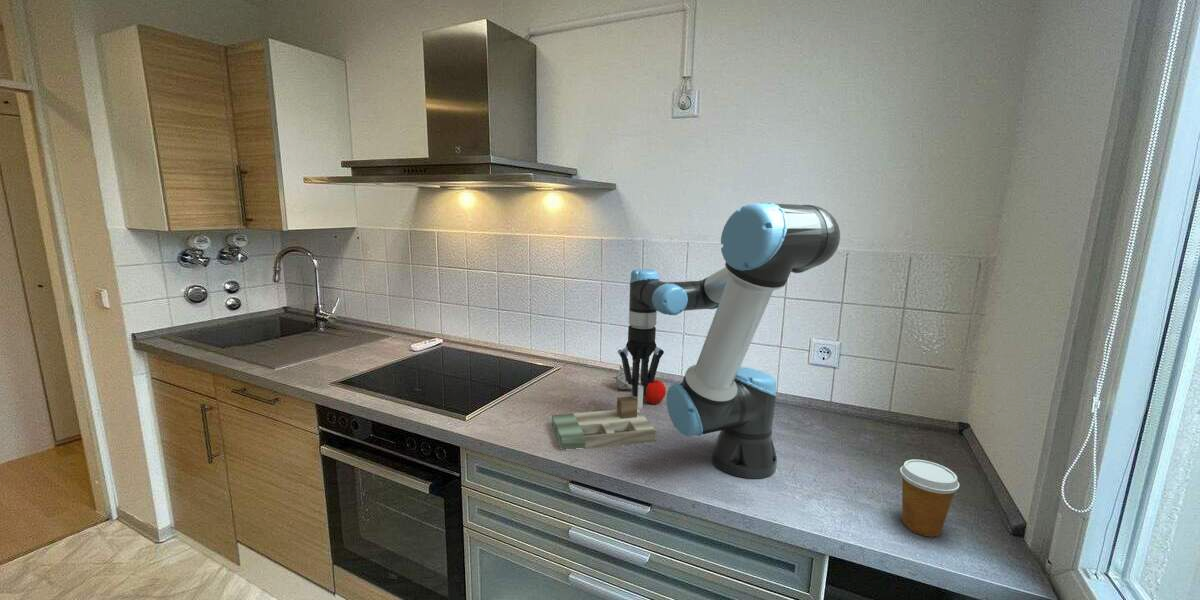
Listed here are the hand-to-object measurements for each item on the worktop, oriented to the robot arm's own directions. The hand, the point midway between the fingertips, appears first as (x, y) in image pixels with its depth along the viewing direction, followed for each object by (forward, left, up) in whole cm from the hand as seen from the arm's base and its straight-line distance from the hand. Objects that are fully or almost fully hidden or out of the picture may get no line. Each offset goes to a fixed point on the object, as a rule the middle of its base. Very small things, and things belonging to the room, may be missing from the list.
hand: (638, 406), depth 138 cm
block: (0, +3, -2) cm, 4 cm away
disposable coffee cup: (-56, -39, -5) cm, 69 cm away
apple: (+14, -10, -5) cm, 18 cm away
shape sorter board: (-4, +11, -5) cm, 13 cm away
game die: (+26, -5, -5) cm, 27 cm away
